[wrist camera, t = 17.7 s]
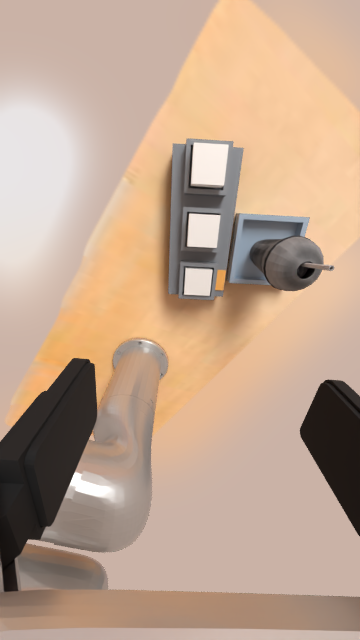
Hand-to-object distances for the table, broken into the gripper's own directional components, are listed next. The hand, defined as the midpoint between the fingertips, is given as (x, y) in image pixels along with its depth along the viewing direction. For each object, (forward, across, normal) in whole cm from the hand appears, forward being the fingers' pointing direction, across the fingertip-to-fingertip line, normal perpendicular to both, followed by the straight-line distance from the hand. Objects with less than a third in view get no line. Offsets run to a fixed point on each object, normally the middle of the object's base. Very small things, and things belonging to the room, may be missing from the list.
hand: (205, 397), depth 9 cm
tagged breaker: (+31, -2, +2) cm, 31 cm away
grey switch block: (+35, -2, -6) cm, 36 cm away
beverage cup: (+34, -14, -4) cm, 37 cm away
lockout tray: (+35, -14, -4) cm, 38 cm away
